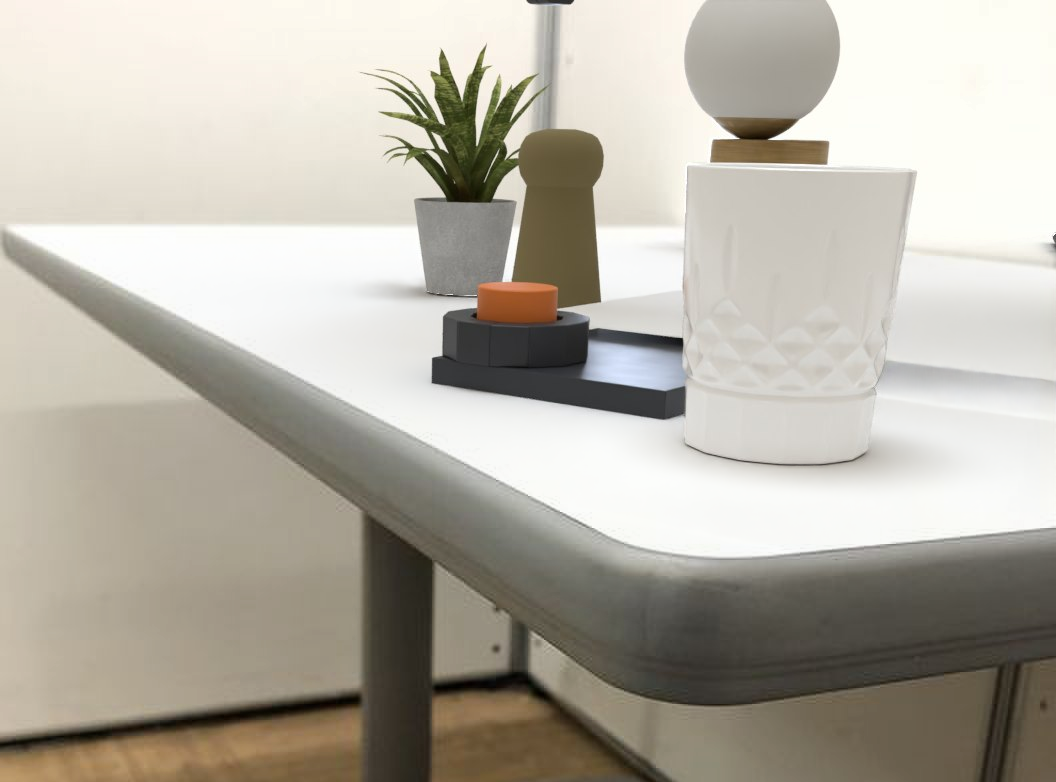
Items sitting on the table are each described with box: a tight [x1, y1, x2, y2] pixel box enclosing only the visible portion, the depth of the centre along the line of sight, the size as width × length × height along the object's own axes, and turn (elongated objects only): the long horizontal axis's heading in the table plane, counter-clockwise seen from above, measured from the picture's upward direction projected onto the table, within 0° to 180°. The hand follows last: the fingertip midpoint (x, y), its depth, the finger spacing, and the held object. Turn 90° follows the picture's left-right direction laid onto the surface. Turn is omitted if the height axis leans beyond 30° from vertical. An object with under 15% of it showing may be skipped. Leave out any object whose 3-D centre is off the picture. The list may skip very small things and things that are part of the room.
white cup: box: [681, 162, 918, 465], centre depth 51 cm, size 8×8×10 cm
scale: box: [431, 307, 687, 421], centre depth 65 cm, size 14×13×3 cm
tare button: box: [476, 281, 558, 323], centre depth 63 cm, size 4×4×2 cm
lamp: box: [683, 0, 841, 165], centre depth 133 cm, size 15×14×25 cm
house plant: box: [355, 42, 551, 295], centre depth 97 cm, size 14×14×16 cm
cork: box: [510, 128, 605, 310], centre depth 86 cm, size 6×6×11 cm
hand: (549, 3), depth 70 cm, fingers closed
